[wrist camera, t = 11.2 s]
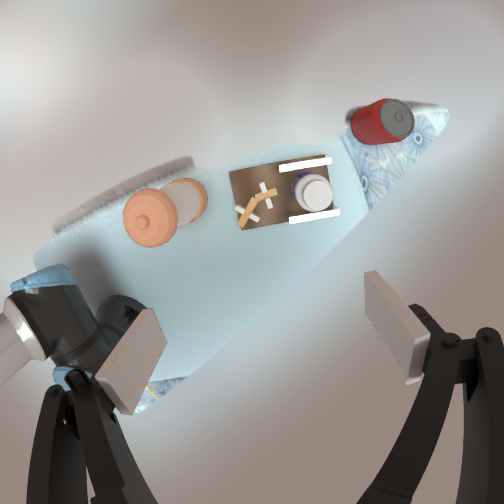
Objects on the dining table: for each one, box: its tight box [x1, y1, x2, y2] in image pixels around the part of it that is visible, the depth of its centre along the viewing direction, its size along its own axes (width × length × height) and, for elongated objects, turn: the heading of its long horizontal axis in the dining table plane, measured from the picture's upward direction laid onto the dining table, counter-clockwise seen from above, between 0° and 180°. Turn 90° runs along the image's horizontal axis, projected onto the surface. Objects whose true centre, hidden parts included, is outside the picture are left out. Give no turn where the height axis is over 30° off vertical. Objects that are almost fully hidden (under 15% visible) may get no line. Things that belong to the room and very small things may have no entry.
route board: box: [229, 155, 333, 230], centre depth 44 cm, size 16×10×1 cm, turn 102°
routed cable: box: [234, 181, 278, 228], centre depth 43 cm, size 8×7×2 cm
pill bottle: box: [291, 172, 333, 212], centre depth 38 cm, size 5×5×10 cm
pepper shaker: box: [123, 178, 208, 247], centre depth 36 cm, size 7×7×19 cm
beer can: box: [351, 99, 415, 145], centre depth 34 cm, size 7×7×12 cm
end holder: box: [278, 157, 340, 224], centre depth 41 cm, size 8×9×4 cm
